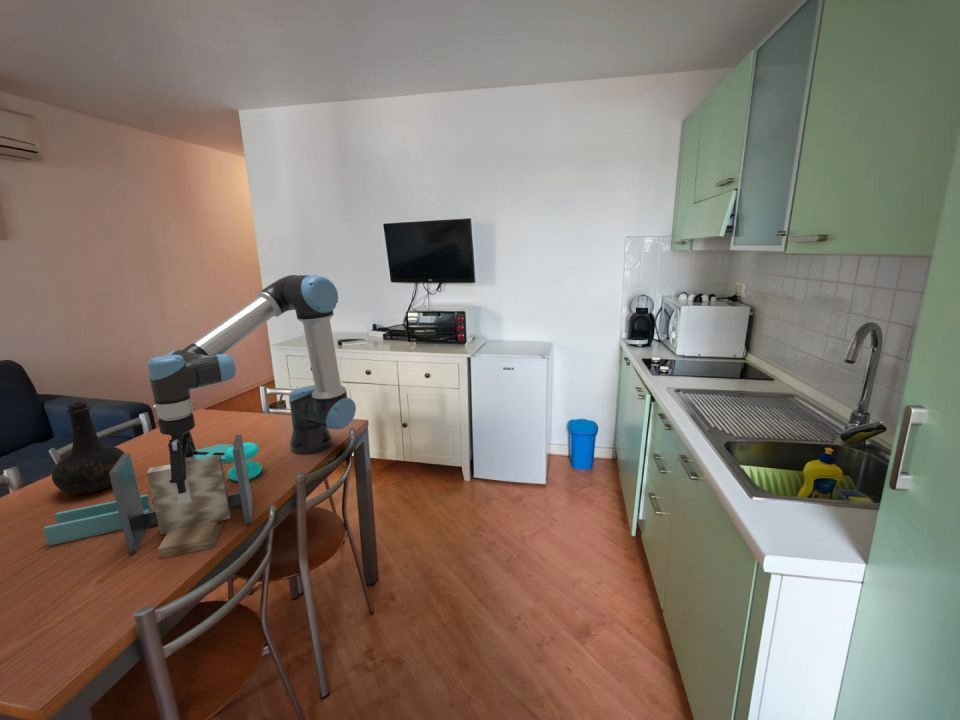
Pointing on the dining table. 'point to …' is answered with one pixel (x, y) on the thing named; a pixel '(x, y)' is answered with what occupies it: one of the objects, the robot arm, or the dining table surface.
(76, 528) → the teal open channel
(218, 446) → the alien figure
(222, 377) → the robot arm
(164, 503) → the birch sheet
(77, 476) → the glass bottle
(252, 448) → the turquoise spool
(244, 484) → the rack
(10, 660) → the dining table surface
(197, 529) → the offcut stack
